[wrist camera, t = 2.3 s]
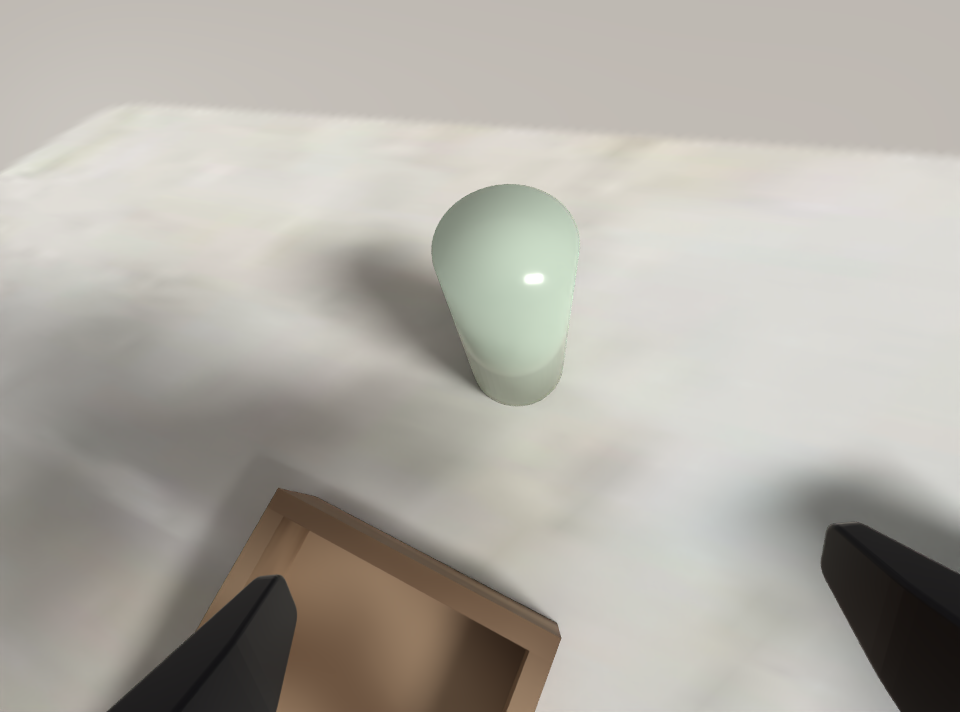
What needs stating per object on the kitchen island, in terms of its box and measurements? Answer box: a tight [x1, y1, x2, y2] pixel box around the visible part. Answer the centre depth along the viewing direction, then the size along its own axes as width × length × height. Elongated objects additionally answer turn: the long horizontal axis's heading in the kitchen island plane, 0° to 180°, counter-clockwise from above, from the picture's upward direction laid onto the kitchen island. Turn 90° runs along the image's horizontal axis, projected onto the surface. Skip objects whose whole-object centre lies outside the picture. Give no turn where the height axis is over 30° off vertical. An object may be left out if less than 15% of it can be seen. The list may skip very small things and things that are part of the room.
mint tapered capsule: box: [431, 184, 580, 406], centre depth 19 cm, size 4×4×10 cm
